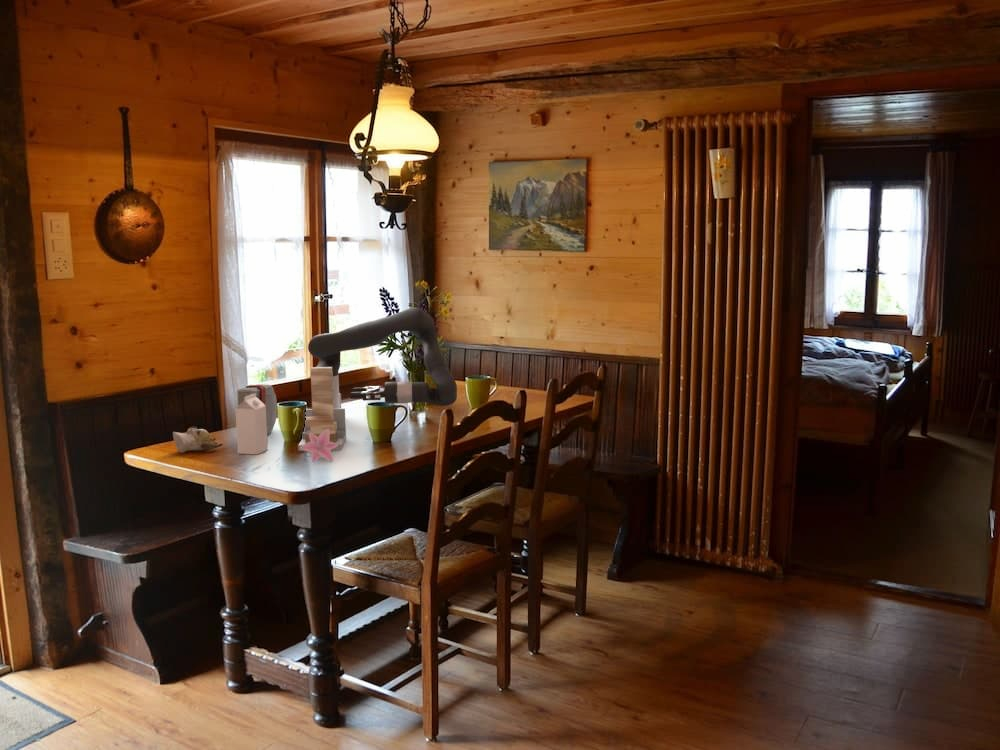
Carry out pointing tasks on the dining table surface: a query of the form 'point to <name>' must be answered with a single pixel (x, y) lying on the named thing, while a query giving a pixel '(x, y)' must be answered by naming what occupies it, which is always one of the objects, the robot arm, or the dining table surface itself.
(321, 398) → the wooden plank
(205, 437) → the ceramic sculpture
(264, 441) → the milk carton
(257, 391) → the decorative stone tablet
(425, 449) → the dining table surface
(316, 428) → the offcut stack
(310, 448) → the lily
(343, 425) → the slot rack
